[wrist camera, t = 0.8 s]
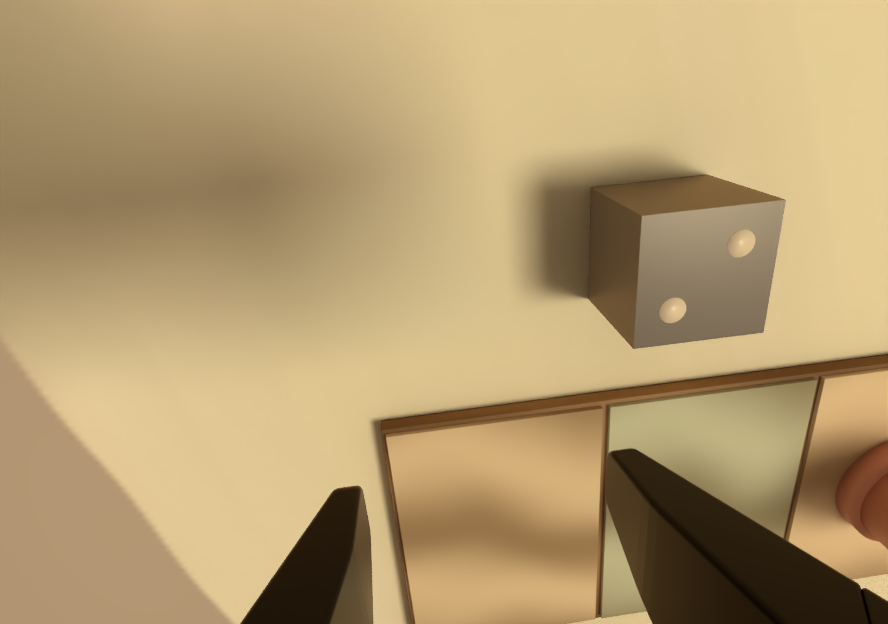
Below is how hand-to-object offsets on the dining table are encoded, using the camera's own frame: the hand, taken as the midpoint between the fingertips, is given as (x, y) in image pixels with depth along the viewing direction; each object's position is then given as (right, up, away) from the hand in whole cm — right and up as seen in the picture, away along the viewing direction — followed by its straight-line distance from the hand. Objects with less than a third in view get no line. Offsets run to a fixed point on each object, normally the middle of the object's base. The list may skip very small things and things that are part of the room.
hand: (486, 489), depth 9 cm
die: (+6, +5, +11) cm, 13 cm away
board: (+10, -5, +15) cm, 19 cm away
